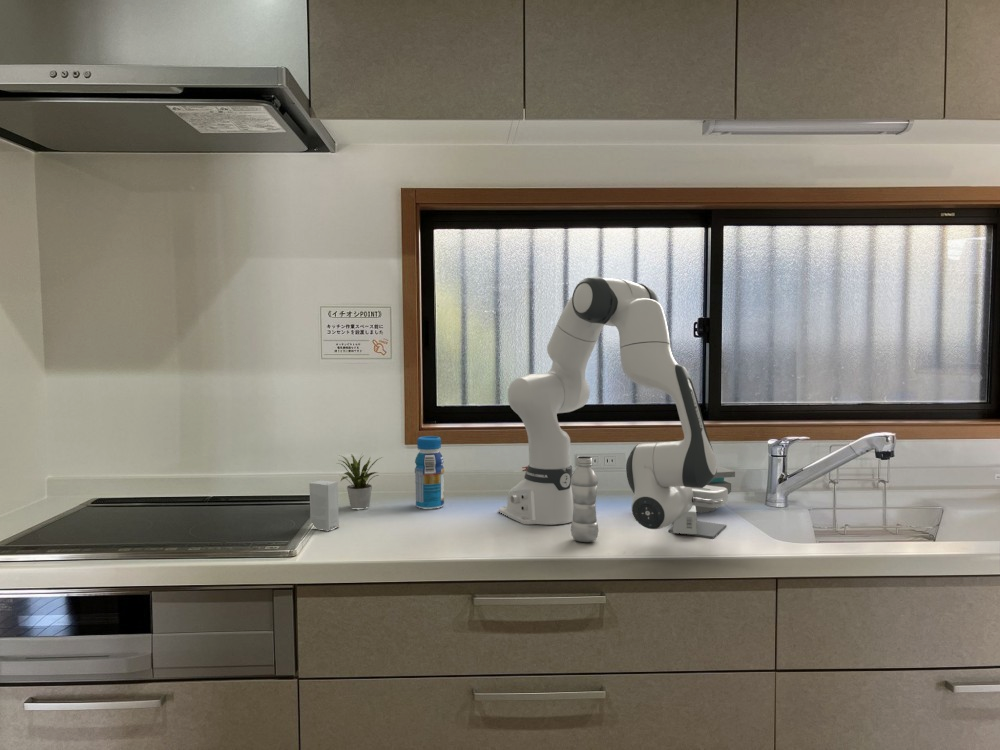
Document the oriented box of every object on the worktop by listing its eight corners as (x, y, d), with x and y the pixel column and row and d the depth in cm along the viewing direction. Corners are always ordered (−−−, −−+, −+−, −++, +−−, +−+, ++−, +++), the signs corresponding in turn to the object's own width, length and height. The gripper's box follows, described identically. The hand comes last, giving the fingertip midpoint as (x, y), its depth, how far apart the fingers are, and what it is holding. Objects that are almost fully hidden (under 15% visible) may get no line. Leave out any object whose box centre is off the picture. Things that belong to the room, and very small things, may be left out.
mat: (713, 538, 160) (713, 536, 160) (668, 531, 166) (668, 529, 166) (726, 526, 170) (726, 524, 170) (683, 520, 176) (683, 518, 176)
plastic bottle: (581, 546, 155) (581, 461, 154) (565, 539, 161) (565, 456, 160) (604, 542, 158) (604, 458, 157) (587, 535, 164) (587, 454, 163)
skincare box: (339, 527, 172) (338, 481, 171) (328, 532, 168) (327, 485, 167) (320, 525, 174) (319, 479, 174) (309, 529, 171) (308, 482, 170)
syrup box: (697, 511, 161) (695, 497, 175) (671, 510, 163) (671, 496, 177) (697, 534, 161) (695, 519, 176) (671, 533, 163) (672, 518, 177)
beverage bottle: (409, 507, 192) (408, 438, 191) (427, 501, 199) (426, 434, 198) (432, 511, 187) (431, 440, 186) (450, 505, 194) (449, 436, 193)
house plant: (319, 511, 189) (318, 453, 188) (348, 500, 201) (347, 446, 200) (362, 516, 183) (361, 456, 182) (389, 504, 196) (388, 449, 195)
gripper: (719, 489, 146) (735, 477, 157) (630, 478, 157) (651, 469, 168) (719, 517, 146) (735, 504, 158) (630, 505, 157) (651, 493, 169)
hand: (691, 486), depth 163 cm, fingers closed
